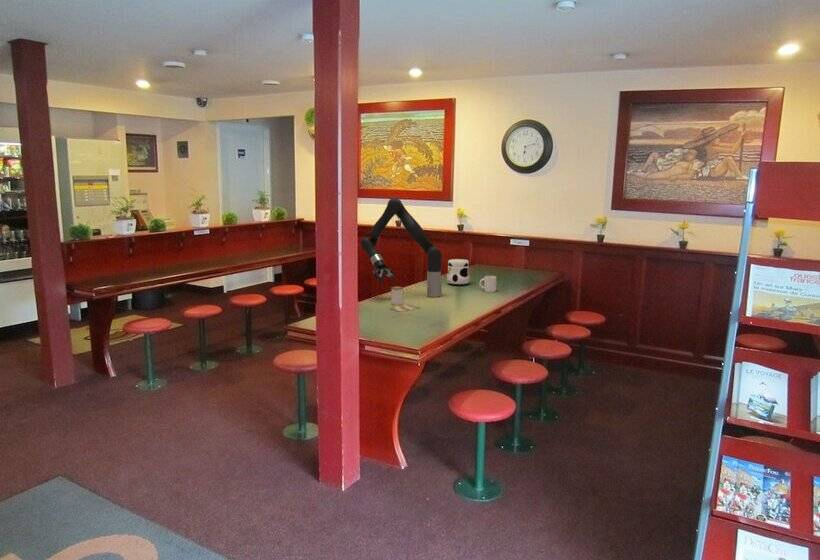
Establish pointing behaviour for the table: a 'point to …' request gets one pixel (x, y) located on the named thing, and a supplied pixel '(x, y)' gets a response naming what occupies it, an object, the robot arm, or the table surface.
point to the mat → (403, 308)
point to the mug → (489, 283)
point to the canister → (397, 295)
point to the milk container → (458, 272)
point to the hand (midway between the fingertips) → (388, 282)
